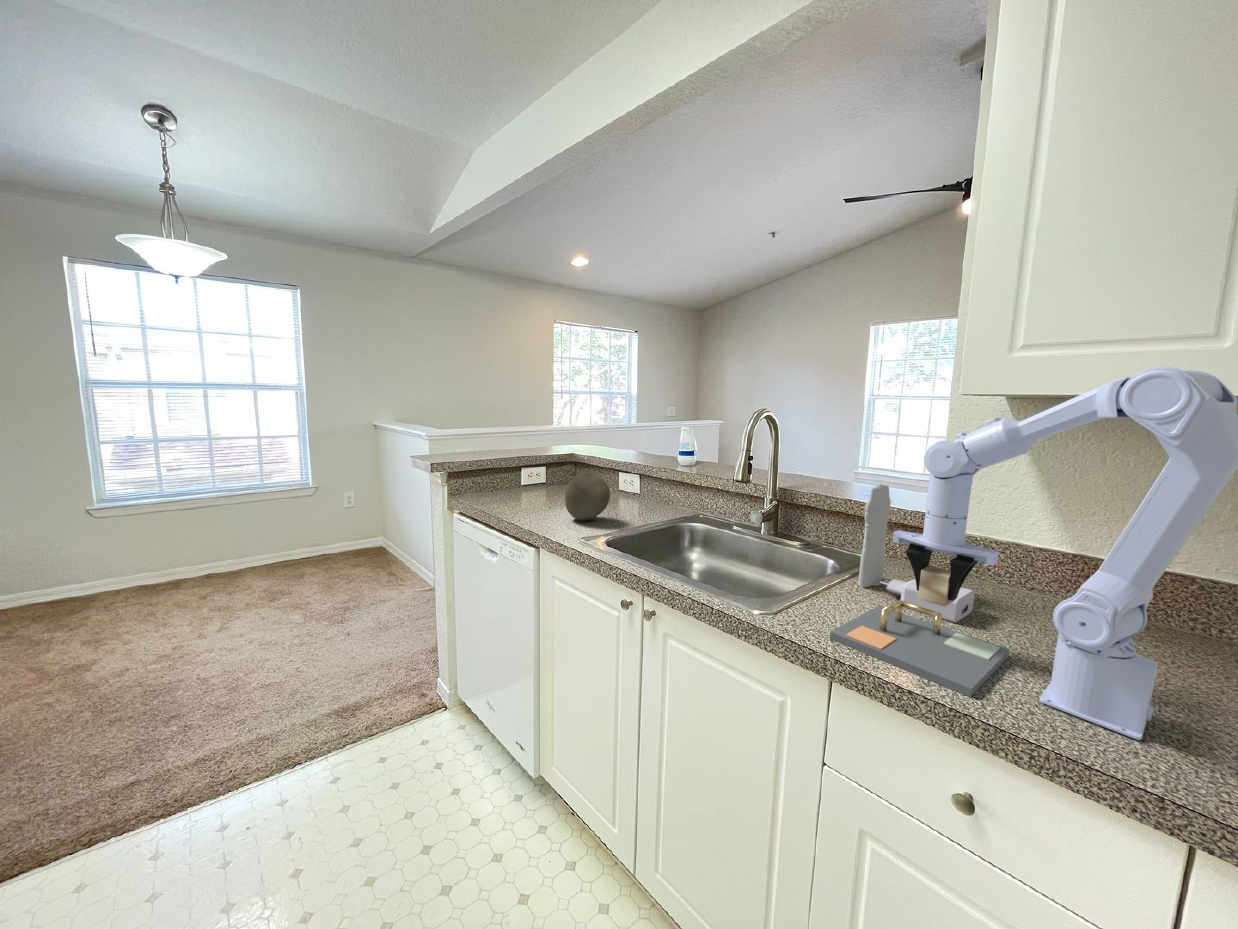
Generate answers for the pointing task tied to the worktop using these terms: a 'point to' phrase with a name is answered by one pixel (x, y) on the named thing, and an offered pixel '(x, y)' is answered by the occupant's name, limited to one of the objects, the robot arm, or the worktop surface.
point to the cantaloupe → (586, 496)
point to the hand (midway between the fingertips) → (936, 594)
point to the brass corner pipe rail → (899, 609)
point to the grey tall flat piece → (874, 537)
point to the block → (934, 585)
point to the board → (924, 649)
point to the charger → (948, 612)
